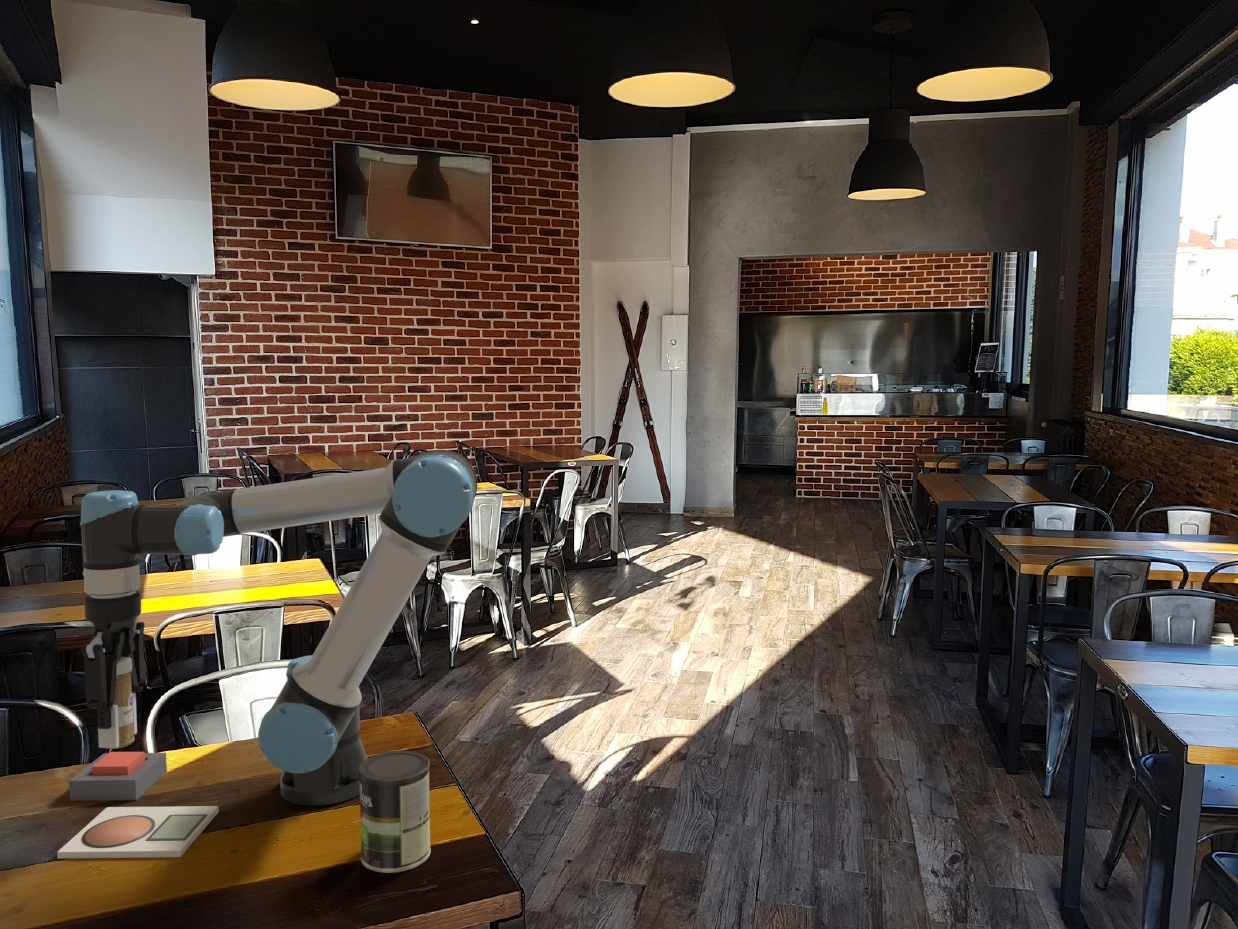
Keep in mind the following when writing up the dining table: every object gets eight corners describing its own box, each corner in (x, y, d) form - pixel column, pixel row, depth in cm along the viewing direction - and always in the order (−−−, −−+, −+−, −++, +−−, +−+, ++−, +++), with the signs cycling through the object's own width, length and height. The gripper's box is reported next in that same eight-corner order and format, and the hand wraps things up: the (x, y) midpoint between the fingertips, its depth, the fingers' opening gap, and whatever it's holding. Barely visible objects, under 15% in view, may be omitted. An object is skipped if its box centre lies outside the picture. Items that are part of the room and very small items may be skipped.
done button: (145, 768, 163) (144, 751, 163) (128, 783, 157) (127, 766, 157) (111, 768, 163) (110, 752, 162) (92, 783, 157) (91, 766, 157)
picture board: (218, 812, 151) (218, 805, 151) (180, 857, 137) (179, 850, 137) (107, 813, 150) (107, 806, 150) (57, 858, 136) (57, 851, 136)
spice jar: (135, 746, 142) (132, 661, 140) (102, 752, 139) (98, 666, 138) (133, 736, 146) (130, 653, 144) (100, 741, 143) (97, 657, 142)
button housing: (166, 771, 166) (165, 752, 165) (136, 800, 155) (135, 780, 154) (105, 772, 165) (103, 753, 165) (70, 800, 154) (69, 780, 154)
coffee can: (365, 879, 131) (362, 785, 129) (357, 845, 140) (354, 756, 139) (437, 865, 135) (435, 773, 133) (425, 832, 144) (423, 746, 143)
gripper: (119, 579, 149) (124, 718, 151) (52, 606, 131) (59, 763, 134) (165, 580, 149) (170, 719, 151) (104, 607, 131) (110, 764, 134)
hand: (118, 739), depth 142 cm, fingers closed on spice jar, 4 cm apart
